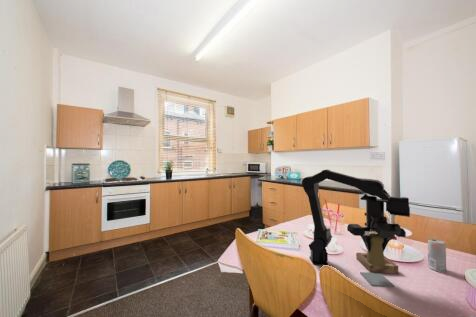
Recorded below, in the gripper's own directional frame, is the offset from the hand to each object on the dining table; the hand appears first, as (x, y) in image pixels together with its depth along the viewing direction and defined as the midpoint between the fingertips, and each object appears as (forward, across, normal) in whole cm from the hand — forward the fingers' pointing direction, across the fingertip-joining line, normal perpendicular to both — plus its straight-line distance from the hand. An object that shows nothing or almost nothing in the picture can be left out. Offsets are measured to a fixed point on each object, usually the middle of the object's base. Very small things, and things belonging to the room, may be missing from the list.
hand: (375, 252), depth 76 cm
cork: (+4, 0, 0) cm, 4 cm away
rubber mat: (+11, 0, 0) cm, 11 cm away
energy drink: (+11, +30, +9) cm, 33 cm away
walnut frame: (+11, +6, +10) cm, 16 cm away
